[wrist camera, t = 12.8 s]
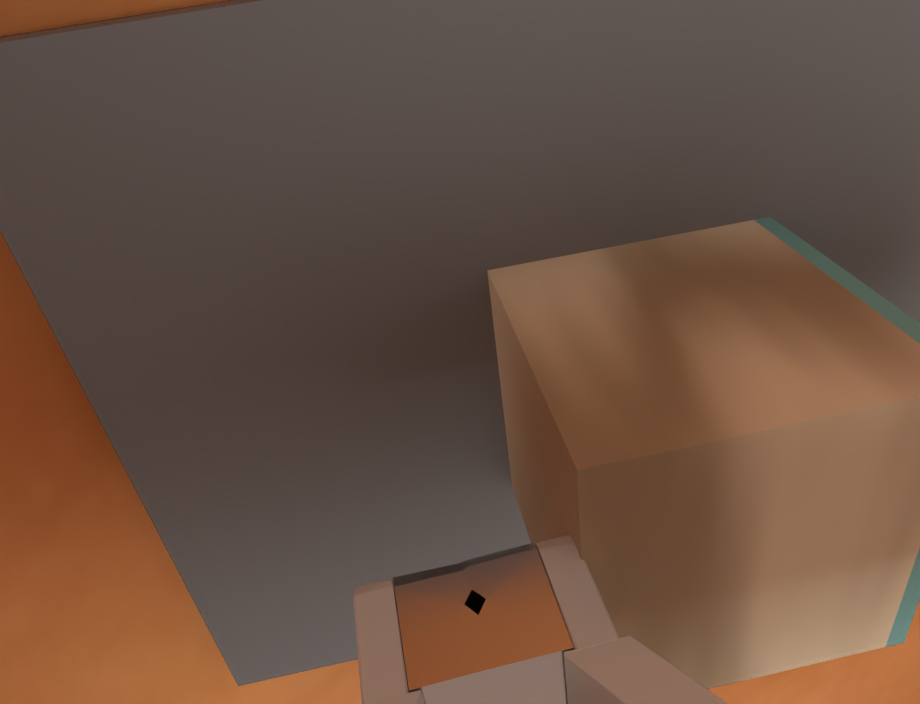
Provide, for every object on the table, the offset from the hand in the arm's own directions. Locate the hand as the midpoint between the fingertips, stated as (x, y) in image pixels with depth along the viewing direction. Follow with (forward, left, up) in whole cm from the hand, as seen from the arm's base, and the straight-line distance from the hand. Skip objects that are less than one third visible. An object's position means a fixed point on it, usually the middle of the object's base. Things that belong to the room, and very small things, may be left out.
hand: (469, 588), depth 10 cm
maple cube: (+1, 0, -2) cm, 2 cm away
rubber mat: (+3, 0, -5) cm, 6 cm away
